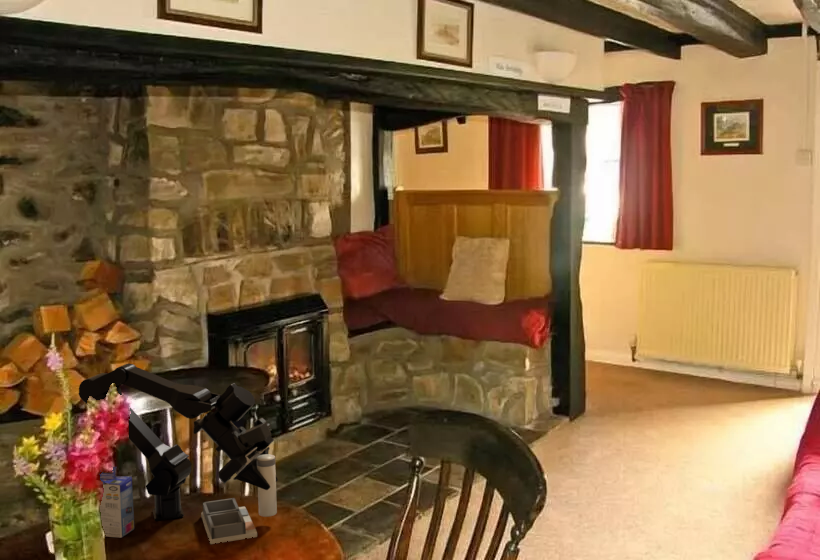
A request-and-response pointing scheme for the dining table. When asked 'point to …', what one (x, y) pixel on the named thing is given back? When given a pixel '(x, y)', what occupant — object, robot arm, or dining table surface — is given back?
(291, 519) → the dining table surface
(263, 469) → the plug
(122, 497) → the ink cartridge box
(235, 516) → the socket board
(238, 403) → the robot arm
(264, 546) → the dining table surface
